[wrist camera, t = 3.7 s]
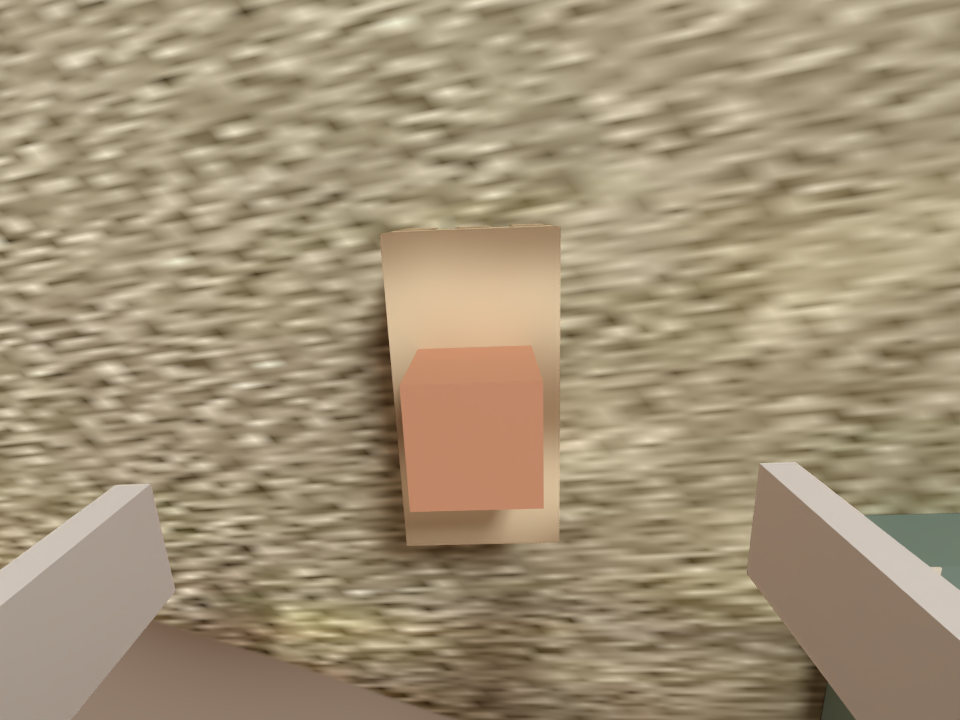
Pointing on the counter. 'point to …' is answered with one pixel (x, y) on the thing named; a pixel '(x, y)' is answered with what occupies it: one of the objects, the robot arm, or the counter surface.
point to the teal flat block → (933, 539)
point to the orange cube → (473, 429)
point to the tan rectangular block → (478, 345)
